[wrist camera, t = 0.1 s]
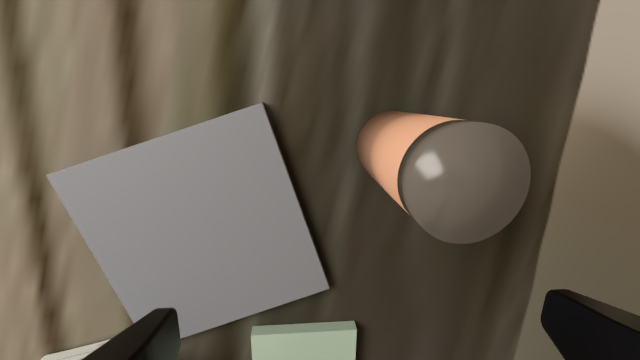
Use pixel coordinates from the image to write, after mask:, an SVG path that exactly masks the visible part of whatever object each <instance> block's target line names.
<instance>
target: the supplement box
mask: <svg viewBox="0 0 640 360" xmlns="http://www.w3.org/2000/svg"><path fill="white" fill-rule="evenodd" d="M109 340H110V339H109ZM109 340H106V341H102V342H98V343H94V344H90V345H86V346H82V347H79V348H74V349H71V350H66V351H62V352H58V353H53V354H49V355H45V356H44V357H43V358H42V359H41V360H81V359H83V358H84V357H86V356H87V355H89V354H90V353H92V352H93V351H94V350H96V349H97V348H99V347H100V346H102V345H103V344H105V343H106V342H108V341H109Z"/></svg>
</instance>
